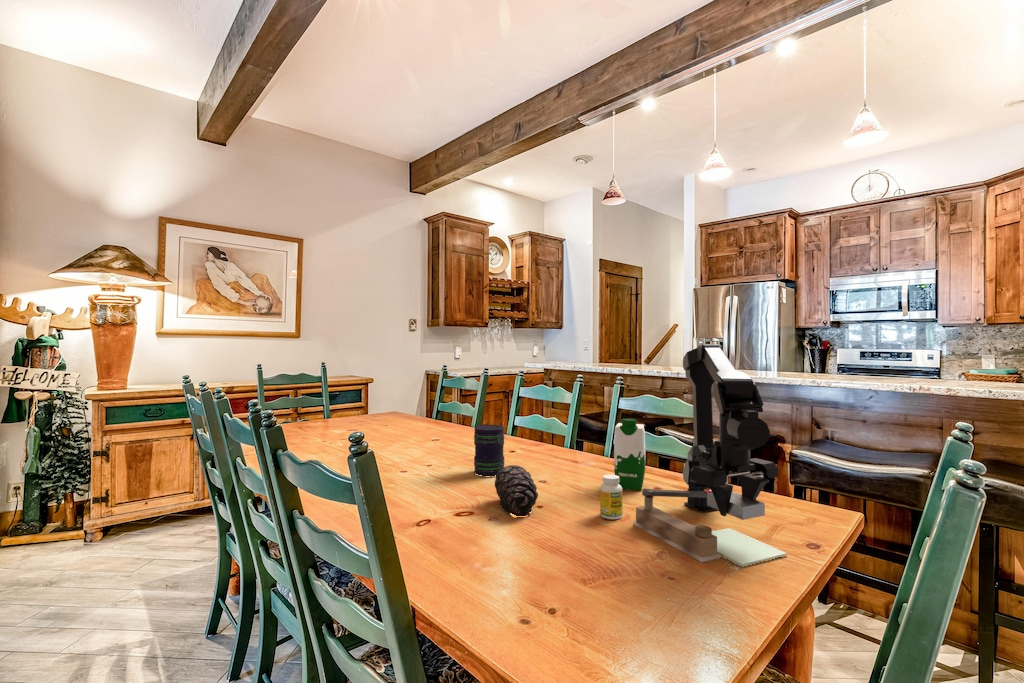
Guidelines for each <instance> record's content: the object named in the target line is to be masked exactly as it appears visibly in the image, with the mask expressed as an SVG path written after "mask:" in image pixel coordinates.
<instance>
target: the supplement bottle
mask: <svg viewBox="0 0 1024 683" xmlns="http://www.w3.org/2000/svg"><path fill="white" fill-rule="evenodd" d="M619 482H620V481H619V476H617V475H615V474H603V475H602V483H601V485H600V486H599V500H600V501H599V504H600V506H599V508H600V510H599V512H600V513H599V514H600V516H601V517H602V518H604V519H606V520H619V519H622V517H623V489H622V487H621V486H620V485H619V484H618V483H619Z"/></svg>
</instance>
